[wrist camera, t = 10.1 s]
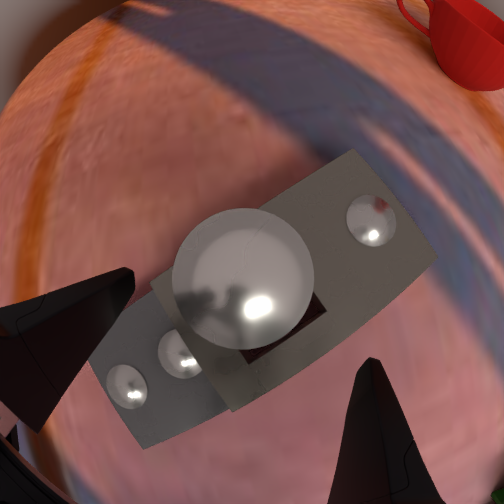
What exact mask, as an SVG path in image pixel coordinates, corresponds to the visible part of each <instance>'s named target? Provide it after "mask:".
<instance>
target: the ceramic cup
mask: <svg viewBox="0 0 504 504" xmlns="http://www.w3.org/2000/svg"><path fill="white" fill-rule="evenodd" d="M396 1H397V5H398V7H399V9H400V11H401V13H402V14H403V16H404V17H405V18H406V19H407V20H408V21H409V22H410V23H411V24H412V25H414V26H415V27H416V28H417V29H419V30H420V31H421V32H423V33H424V34H425V35H427V36H428V37H429V38H430V40H431V44H432V47H433V50H434V53H435V55H436V58H437V61H438V64H439V66H440V67H441V69H442V70H443V71H444V72H445V74H446V75H448V76H449V77H450V78H451V79H452V80H453V81H455V82H456V83H457V84H459V85H460V86H462V87H464V88H466V89H468V90H470V91H495V90H499V89H502V88H504V21H502V20H501V19H500V18H499V17H497V16H496V15H495V14H494V13H493V12H491V11H489V10H488V9H487V8H486V7H484V6H483V5H481V4H479V3H478V2H476V1H475V0H433V2H432V1H431V0H424V1H425V3H426V4H427V6H428V8H429V13H430V18H429V29H427V28H426V27H424V26H423V25H421V24H420V23H419V22H417V21H416V20H415V19H414V18H413V17H412V16H411V15H410V14H409V13H408V12H407V11H406V9H405V7H404V5H403V2H402V0H396Z"/></svg>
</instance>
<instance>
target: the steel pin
mask: <svg viewBox="0 0 504 504" xmlns="http://www.w3.org/2000/svg"><path fill="white" fill-rule="evenodd" d="M172 286H173V293H174V298H175V301H176V304H177V307H178V309H179V311H180V313H181V315H182V316H183V318H184V319H185V321H186V322H187V324H188V325H189V326H190V327H191V328H192V329H193V330H194V331H195V332H196V333H198V334H199V335H200V336H201V337H203V338H204V339H206V340H208V341H209V342H212V343H214V344H216V345H219V346H222V347H226V348H231V349H254V348H259V347H262V346H266V345H268V344H271V343H273V342H275V341H277V340H279V339H280V338H282V337H283V336H285V335H286V334H287V333H289V332H290V331H291V330H292V329H293V328H294V327H295V326H296V325H297V324H298V322H299V321H300V320H301V318H302V317H303V315H304V313H305V312H306V310H307V308H308V305H309V303H310V300H311V297H312V293H313V287H314V269H313V263H312V259H311V256H310V253H309V250H308V248H307V246H306V244H305V242H304V241H303V239H302V238H301V236H300V235H299V234H298V233H297V232H296V230H295V229H294V228H293V227H292V226H290V225H289V224H288V223H287V222H285V221H284V220H283V219H281V218H279V217H277V216H276V215H274V214H271V213H269V212H266V211H263V210H258V209H251V208H236V209H230V210H226V211H222V212H219V213H217V214H215V215H212V216H210V217H209V218H207V219H205V220H204V221H202V222H201V223H200V224H198V225H197V226H196V227H195V228H194V229H193V230H192V231H191V232H190V233H189V234H188V236H187V237H186V238H185V240H184V241H183V243H182V245H181V246H180V248H179V251H178V253H177V255H176V258H175V262H174V266H173V272H172Z"/></svg>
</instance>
